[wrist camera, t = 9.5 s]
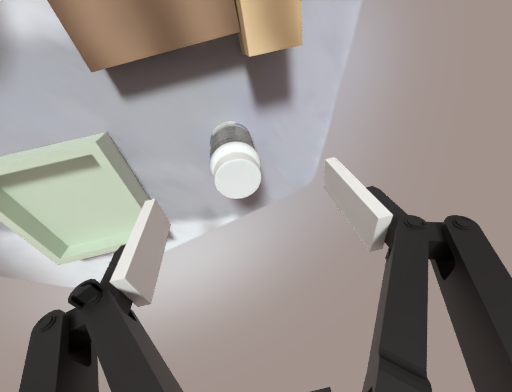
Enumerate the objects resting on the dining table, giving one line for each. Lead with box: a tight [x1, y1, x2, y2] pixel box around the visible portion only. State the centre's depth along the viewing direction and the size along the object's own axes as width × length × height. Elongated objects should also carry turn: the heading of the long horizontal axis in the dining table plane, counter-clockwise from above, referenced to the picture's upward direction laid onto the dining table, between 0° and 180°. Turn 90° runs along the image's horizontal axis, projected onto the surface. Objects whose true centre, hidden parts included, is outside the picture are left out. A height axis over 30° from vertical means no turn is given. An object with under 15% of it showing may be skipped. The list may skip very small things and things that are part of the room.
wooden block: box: [234, 0, 302, 57], centre depth 15 cm, size 4×6×5 cm, turn 10°
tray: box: [0, 132, 150, 265], centre depth 24 cm, size 14×14×3 cm
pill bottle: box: [210, 121, 261, 199], centre depth 21 cm, size 5×5×8 cm
